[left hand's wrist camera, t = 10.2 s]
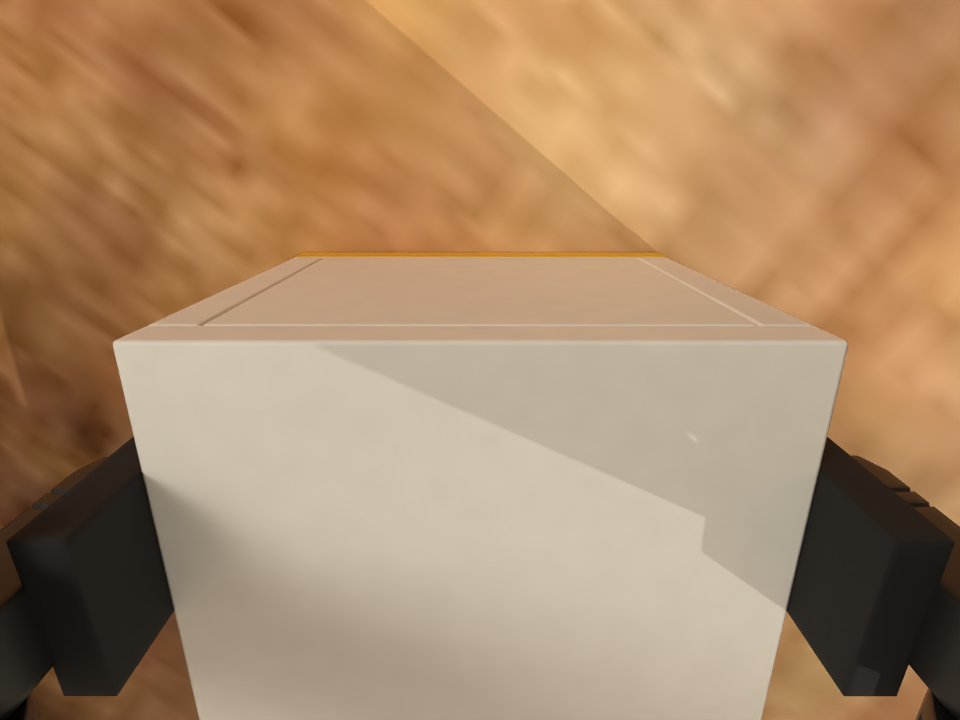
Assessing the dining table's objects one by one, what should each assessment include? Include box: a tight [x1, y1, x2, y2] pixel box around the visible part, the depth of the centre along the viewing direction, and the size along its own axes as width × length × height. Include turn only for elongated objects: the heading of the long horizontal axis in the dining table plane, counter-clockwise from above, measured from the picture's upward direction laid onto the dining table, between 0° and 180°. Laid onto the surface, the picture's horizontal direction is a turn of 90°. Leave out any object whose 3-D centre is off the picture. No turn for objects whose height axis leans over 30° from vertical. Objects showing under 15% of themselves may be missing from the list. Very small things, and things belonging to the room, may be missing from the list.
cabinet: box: [113, 252, 848, 720], centre depth 14 cm, size 14×10×9 cm
